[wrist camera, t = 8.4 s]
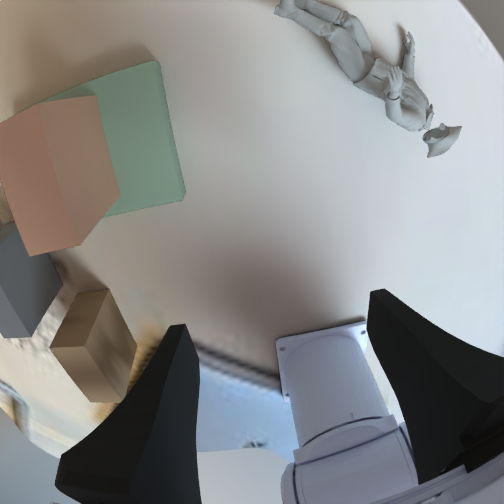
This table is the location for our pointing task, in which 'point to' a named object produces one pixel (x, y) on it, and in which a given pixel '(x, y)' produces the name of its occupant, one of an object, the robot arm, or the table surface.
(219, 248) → the table surface
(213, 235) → the table surface
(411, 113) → the soldier figure
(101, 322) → the walnut brick
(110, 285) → the table surface
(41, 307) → the charcoal brick
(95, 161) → the terracotta brick
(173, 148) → the sage board
